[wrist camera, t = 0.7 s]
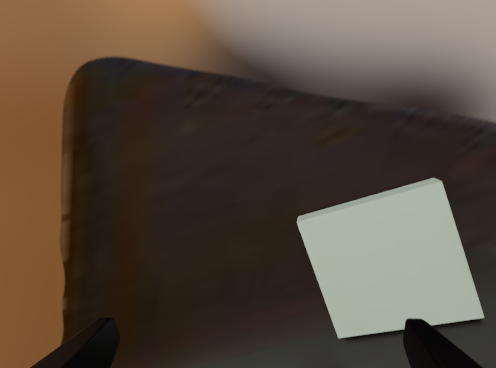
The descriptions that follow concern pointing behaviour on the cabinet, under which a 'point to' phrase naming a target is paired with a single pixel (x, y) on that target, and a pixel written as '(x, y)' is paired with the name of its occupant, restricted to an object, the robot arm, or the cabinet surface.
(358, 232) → the sage board
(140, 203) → the cabinet surface
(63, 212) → the cabinet surface
